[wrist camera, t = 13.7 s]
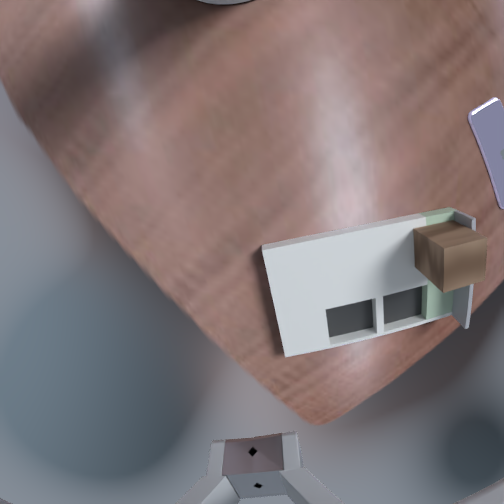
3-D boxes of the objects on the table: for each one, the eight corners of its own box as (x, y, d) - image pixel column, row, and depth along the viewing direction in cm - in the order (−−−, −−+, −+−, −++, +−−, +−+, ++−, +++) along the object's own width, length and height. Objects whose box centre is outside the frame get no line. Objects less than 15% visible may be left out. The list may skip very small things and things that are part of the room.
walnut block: (413, 228, 35) (444, 248, 28) (452, 220, 34) (487, 237, 27) (414, 267, 37) (443, 293, 29) (453, 257, 36) (484, 280, 29)
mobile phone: (499, 94, 30) (531, 189, 34) (495, 95, 31) (527, 187, 35) (467, 114, 31) (503, 212, 35) (463, 114, 32) (499, 211, 36)
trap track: (261, 244, 38) (262, 263, 32) (449, 207, 36) (475, 218, 30) (284, 348, 43) (287, 376, 37) (448, 307, 41) (468, 327, 35)
